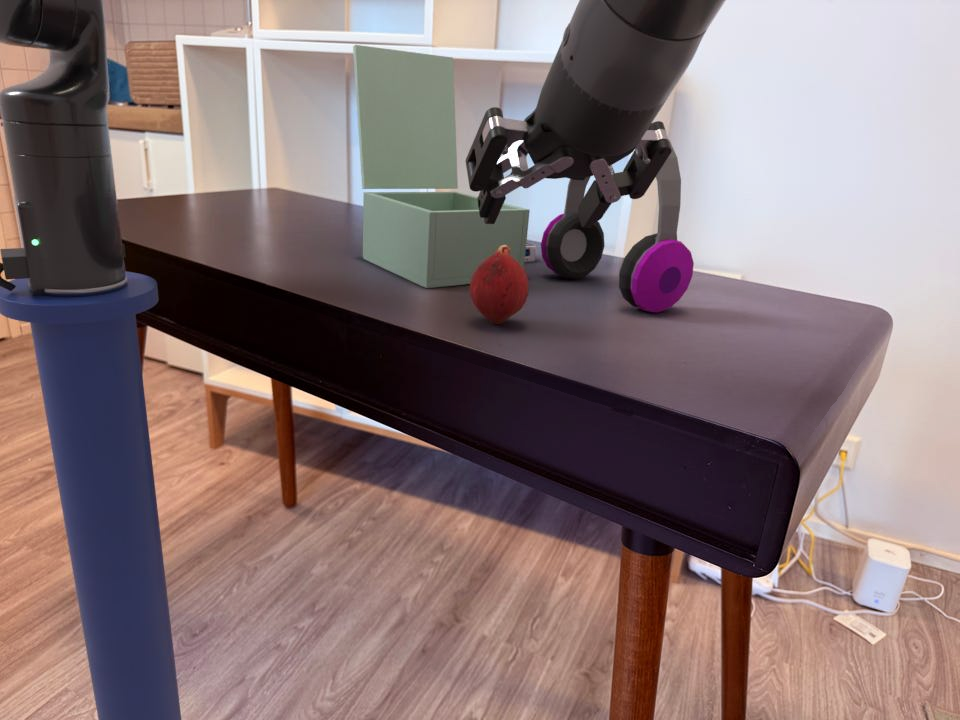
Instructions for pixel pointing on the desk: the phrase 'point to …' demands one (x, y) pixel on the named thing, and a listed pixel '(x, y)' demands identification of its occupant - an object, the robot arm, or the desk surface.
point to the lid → (405, 119)
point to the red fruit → (499, 286)
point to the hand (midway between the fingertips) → (536, 217)
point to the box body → (437, 235)
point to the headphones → (650, 262)
